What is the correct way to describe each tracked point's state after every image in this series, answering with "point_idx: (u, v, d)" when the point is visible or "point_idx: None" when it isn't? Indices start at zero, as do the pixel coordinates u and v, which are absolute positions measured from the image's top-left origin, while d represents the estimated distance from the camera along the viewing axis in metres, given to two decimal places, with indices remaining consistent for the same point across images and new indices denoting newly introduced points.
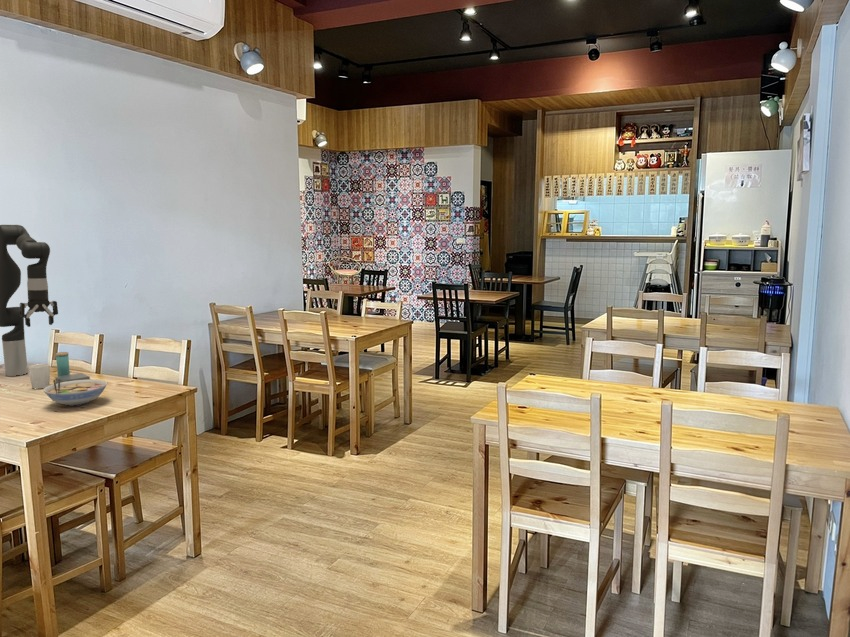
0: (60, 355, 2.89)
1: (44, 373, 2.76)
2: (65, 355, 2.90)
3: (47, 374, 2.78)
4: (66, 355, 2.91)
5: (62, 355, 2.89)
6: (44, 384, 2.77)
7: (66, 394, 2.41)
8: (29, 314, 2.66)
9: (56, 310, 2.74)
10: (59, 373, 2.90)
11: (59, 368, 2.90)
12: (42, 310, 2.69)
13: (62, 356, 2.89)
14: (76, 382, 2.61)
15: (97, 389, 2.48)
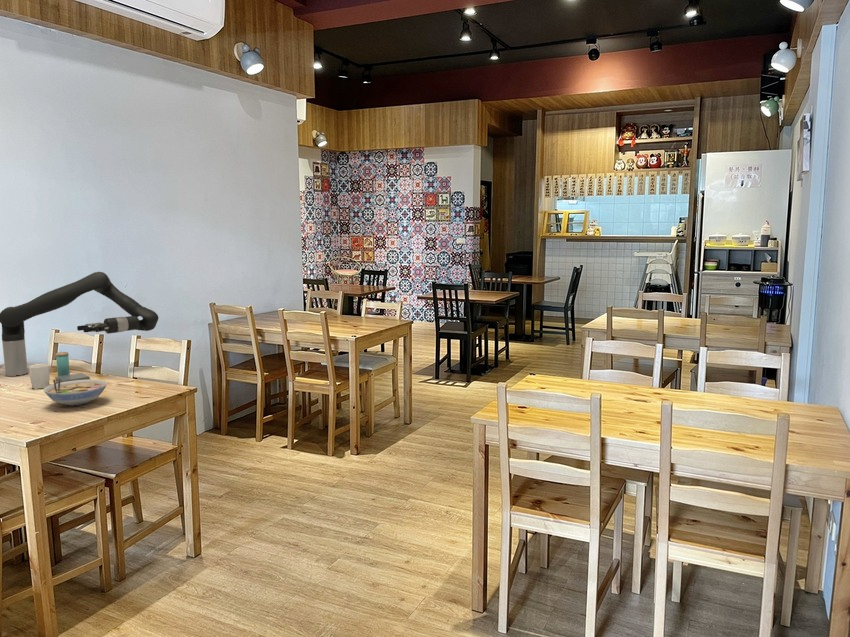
0: (60, 355, 2.89)
1: (44, 373, 2.76)
2: (65, 355, 2.90)
3: (47, 374, 2.78)
4: (66, 355, 2.91)
5: (62, 355, 2.89)
6: (44, 384, 2.77)
7: (66, 394, 2.41)
8: None
9: None
10: (59, 373, 2.90)
11: (59, 368, 2.90)
12: None
13: (62, 356, 2.89)
14: (76, 382, 2.61)
15: (97, 389, 2.48)
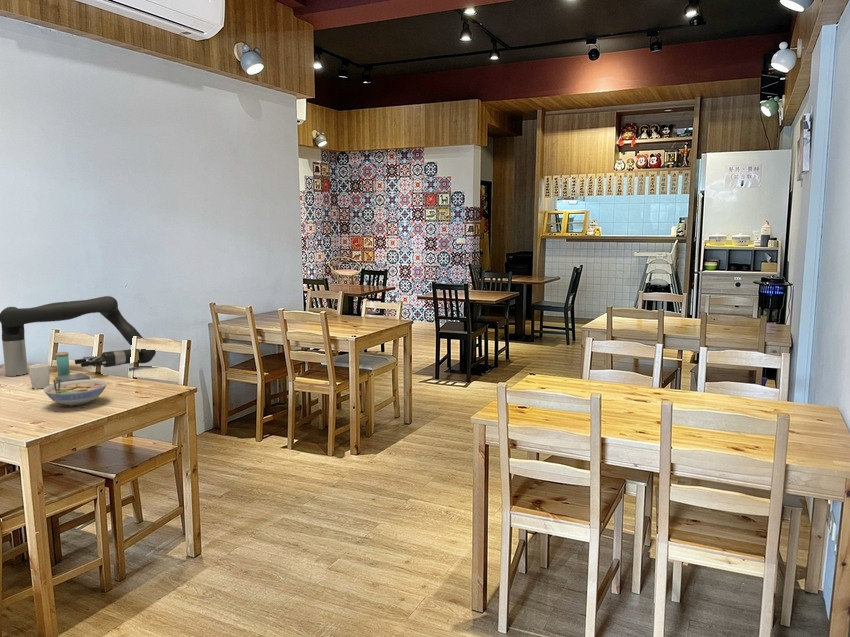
0: (60, 355, 2.89)
1: (44, 373, 2.76)
2: (65, 355, 2.90)
3: (47, 374, 2.78)
4: (66, 355, 2.91)
5: (62, 355, 2.89)
6: (44, 384, 2.77)
7: (66, 394, 2.41)
8: None
9: None
10: (59, 373, 2.90)
11: (59, 368, 2.90)
12: None
13: (62, 356, 2.89)
14: (76, 382, 2.61)
15: (97, 389, 2.48)
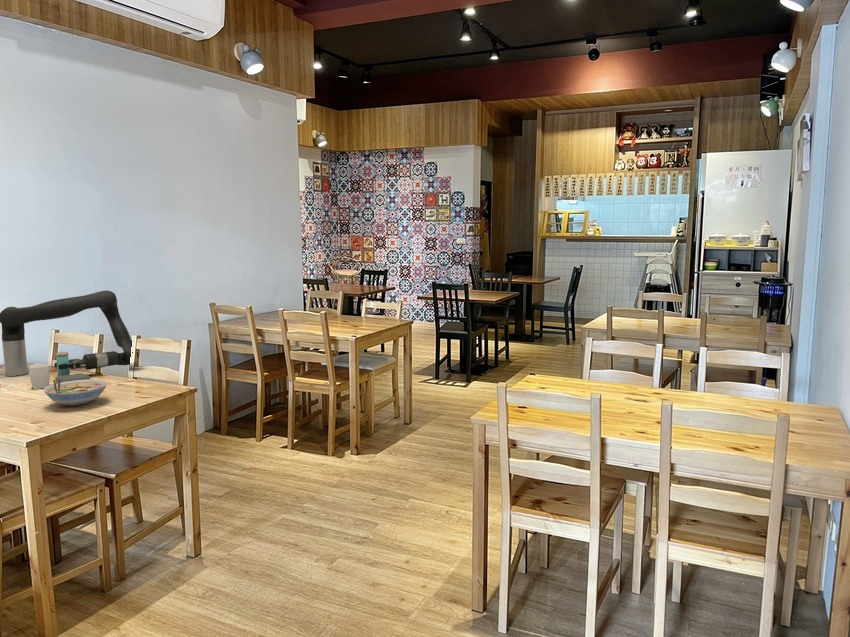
0: (60, 355, 2.89)
1: (44, 373, 2.76)
2: (65, 355, 2.90)
3: (47, 374, 2.78)
4: (66, 355, 2.91)
5: (62, 355, 2.89)
6: (44, 384, 2.77)
7: (66, 394, 2.41)
8: None
9: None
10: (59, 373, 2.90)
11: None
12: None
13: (62, 356, 2.89)
14: (76, 382, 2.61)
15: (97, 389, 2.48)
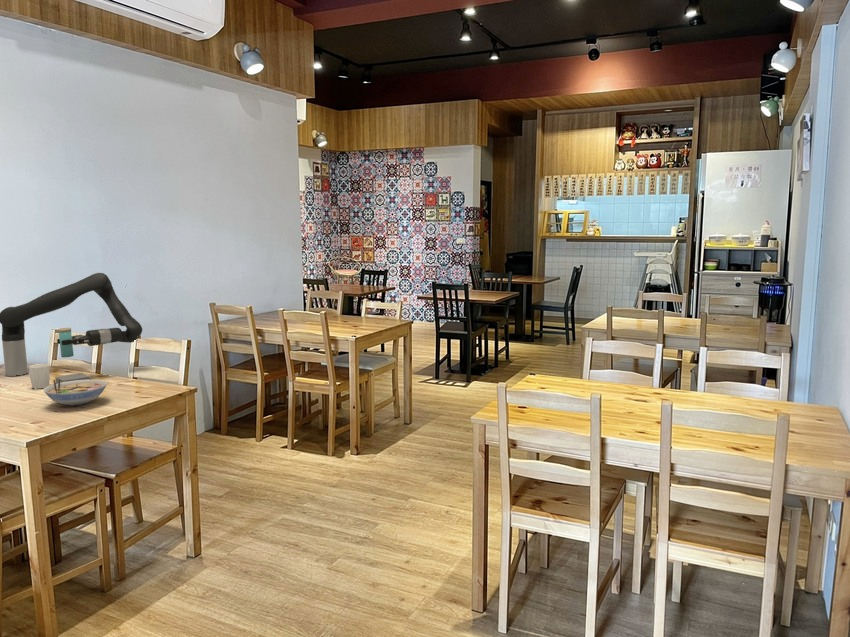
0: (63, 331, 2.84)
1: (44, 373, 2.76)
2: (68, 331, 2.86)
3: (47, 374, 2.78)
4: (69, 331, 2.86)
5: (65, 331, 2.85)
6: (44, 384, 2.77)
7: (66, 394, 2.41)
8: None
9: None
10: (62, 349, 2.86)
11: None
12: None
13: (65, 331, 2.85)
14: (76, 382, 2.61)
15: (97, 389, 2.48)
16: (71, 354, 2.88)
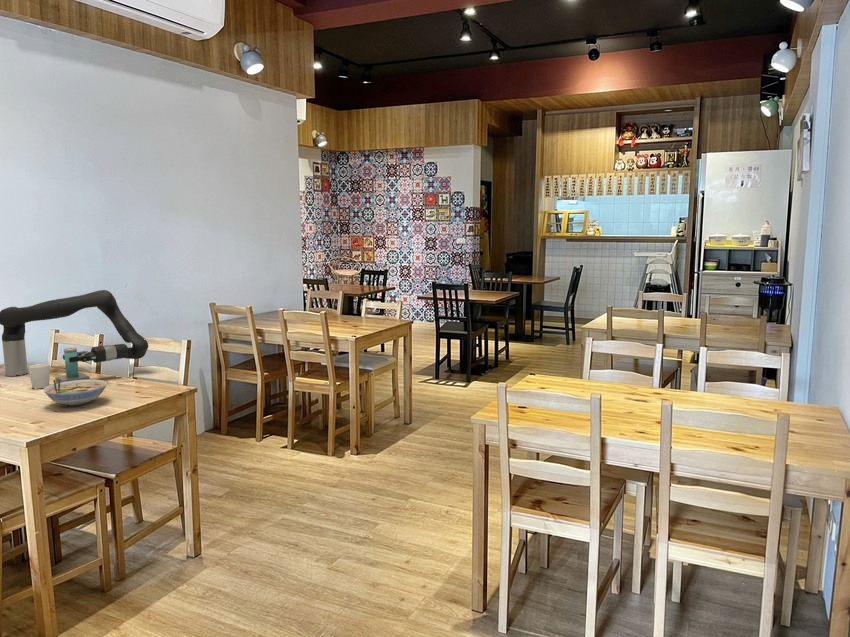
0: (68, 351, 2.80)
1: (44, 373, 2.76)
2: (73, 351, 2.82)
3: (47, 374, 2.78)
4: (74, 351, 2.82)
5: (70, 351, 2.81)
6: (44, 384, 2.77)
7: (66, 394, 2.41)
8: None
9: None
10: (68, 370, 2.81)
11: (68, 364, 2.81)
12: None
13: (70, 351, 2.81)
14: (76, 382, 2.61)
15: (97, 389, 2.48)
16: (76, 374, 2.84)
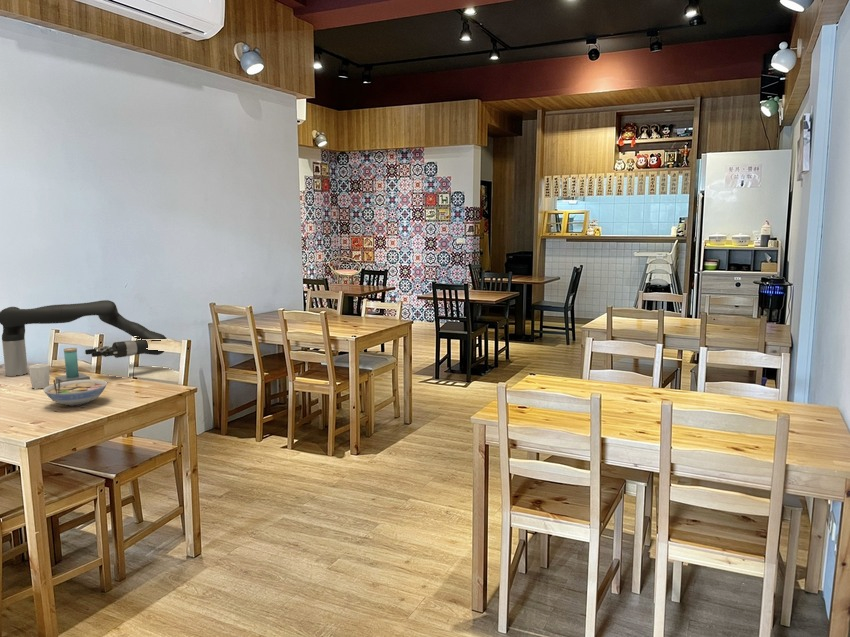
0: (68, 351, 2.80)
1: (44, 373, 2.76)
2: (73, 351, 2.82)
3: (47, 374, 2.78)
4: (74, 351, 2.82)
5: (70, 351, 2.81)
6: (44, 384, 2.77)
7: (66, 394, 2.41)
8: None
9: (98, 352, 2.98)
10: (68, 370, 2.81)
11: (67, 364, 2.81)
12: None
13: (70, 351, 2.81)
14: (76, 382, 2.61)
15: (97, 389, 2.48)
16: (76, 374, 2.84)
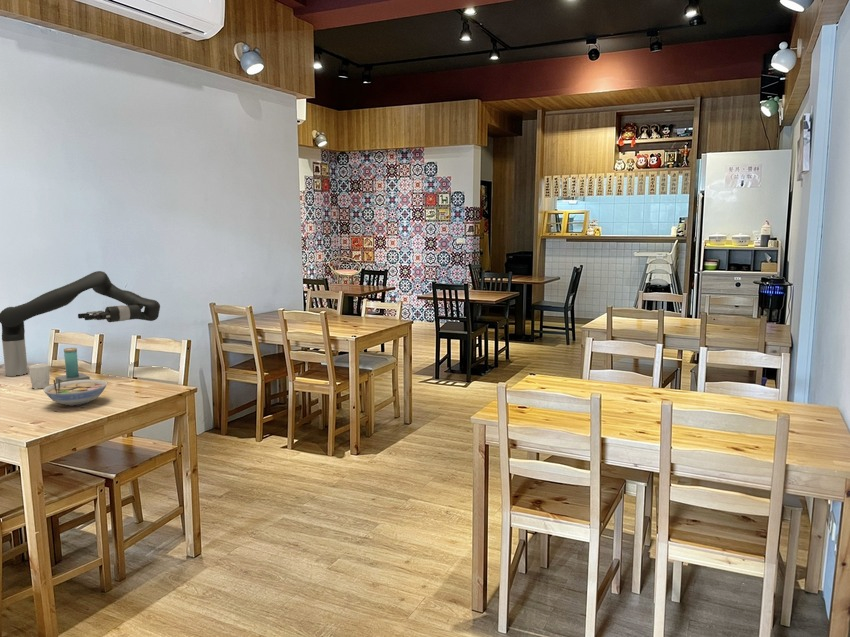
0: (68, 351, 2.80)
1: (44, 373, 2.76)
2: (73, 351, 2.82)
3: (47, 374, 2.78)
4: (74, 351, 2.82)
5: (70, 351, 2.81)
6: (44, 384, 2.77)
7: (66, 394, 2.41)
8: None
9: None
10: (68, 369, 2.81)
11: (68, 364, 2.81)
12: None
13: (70, 351, 2.81)
14: (76, 382, 2.61)
15: (97, 389, 2.48)
16: (76, 374, 2.84)
